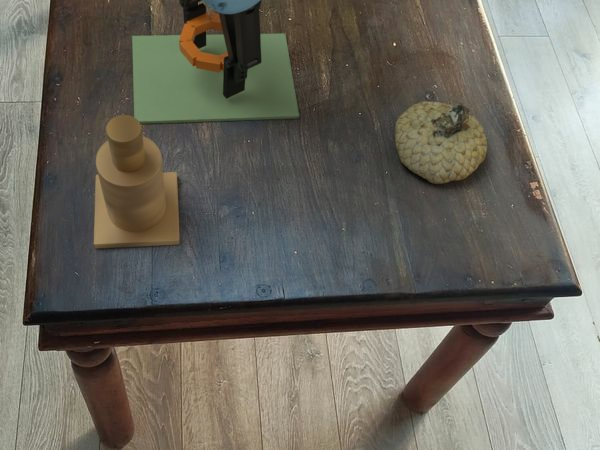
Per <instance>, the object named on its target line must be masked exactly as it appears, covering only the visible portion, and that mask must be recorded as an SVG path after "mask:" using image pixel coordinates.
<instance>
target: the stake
mask: <svg viewBox="0 0 600 450" xmlns="http://www.w3.org/2000/svg"><path fill="white" fill-rule="evenodd" d="M105 131H106V137H107V140H106V141H105V142H104V143H103V144H102V145H101V146H100V147H99V149H98V151H97V153H96V157H95V166H96V170H97V174H95V183H94V184H95V186H94V187H95V188H94V189H95V190H94V217H93V218H94V221H93V247H94V249H112V248H113V249H115V248H136V247H153V246H154V247H155V246H157V247H158V246H174V245H175V246H176V245H177V246H178V245H180V240H181V239H180V220H179V219H180V215H179V190H178V189H179V188H178V172H177V171H164V168H163V159H162V152H161V149H160V148H159V146H158V145H157V144H156V143H155V142H154V141H153V140H151V139H150V138H148V137H147V136H145V135H143V129H142V124H140V122H139V121H138V120H137V119H136V118H134V115H133V116H132V115H129V114H119V115H116V116H114V117H112V118H111V119H110V120H109V121H108V122H107V124H106V126H105Z"/></svg>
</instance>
